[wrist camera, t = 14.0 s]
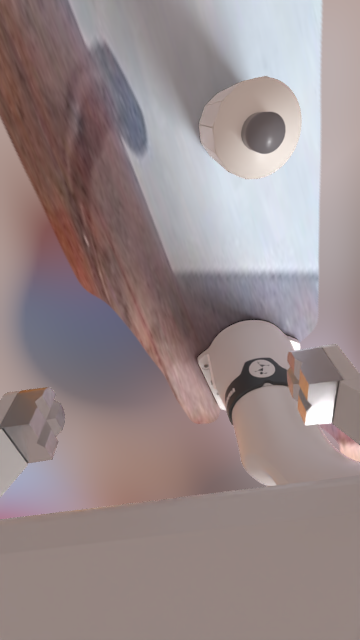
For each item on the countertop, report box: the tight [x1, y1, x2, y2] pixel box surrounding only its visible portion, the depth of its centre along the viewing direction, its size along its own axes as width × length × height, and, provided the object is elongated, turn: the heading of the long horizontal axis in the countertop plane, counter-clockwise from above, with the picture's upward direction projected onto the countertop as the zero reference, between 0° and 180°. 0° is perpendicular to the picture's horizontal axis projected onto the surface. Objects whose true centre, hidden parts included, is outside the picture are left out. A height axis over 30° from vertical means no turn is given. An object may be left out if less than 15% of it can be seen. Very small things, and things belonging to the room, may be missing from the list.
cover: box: [199, 76, 301, 179], centre depth 31 cm, size 7×7×17 cm
